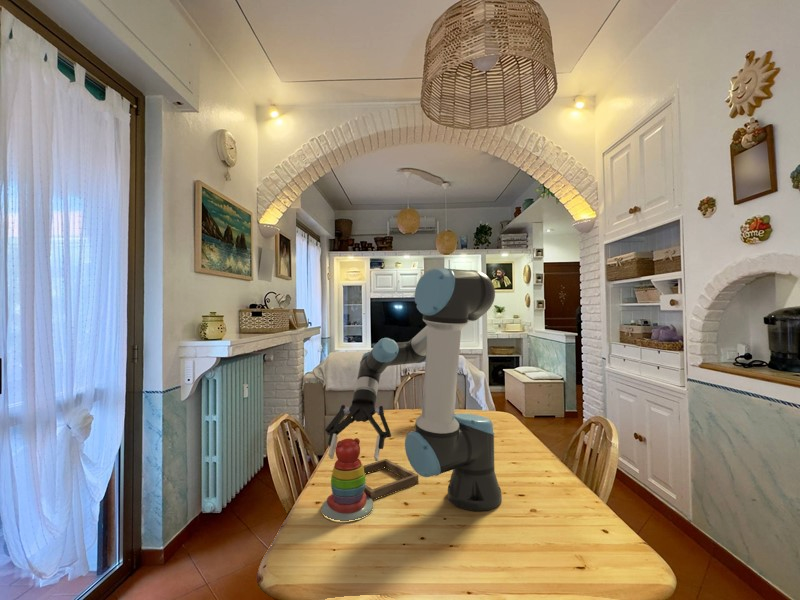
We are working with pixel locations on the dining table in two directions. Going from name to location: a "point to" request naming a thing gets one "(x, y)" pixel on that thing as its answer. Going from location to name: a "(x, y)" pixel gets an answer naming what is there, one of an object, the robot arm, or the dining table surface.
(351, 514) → the pad
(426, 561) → the dining table surface
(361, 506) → the stacking bear
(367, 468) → the collar
